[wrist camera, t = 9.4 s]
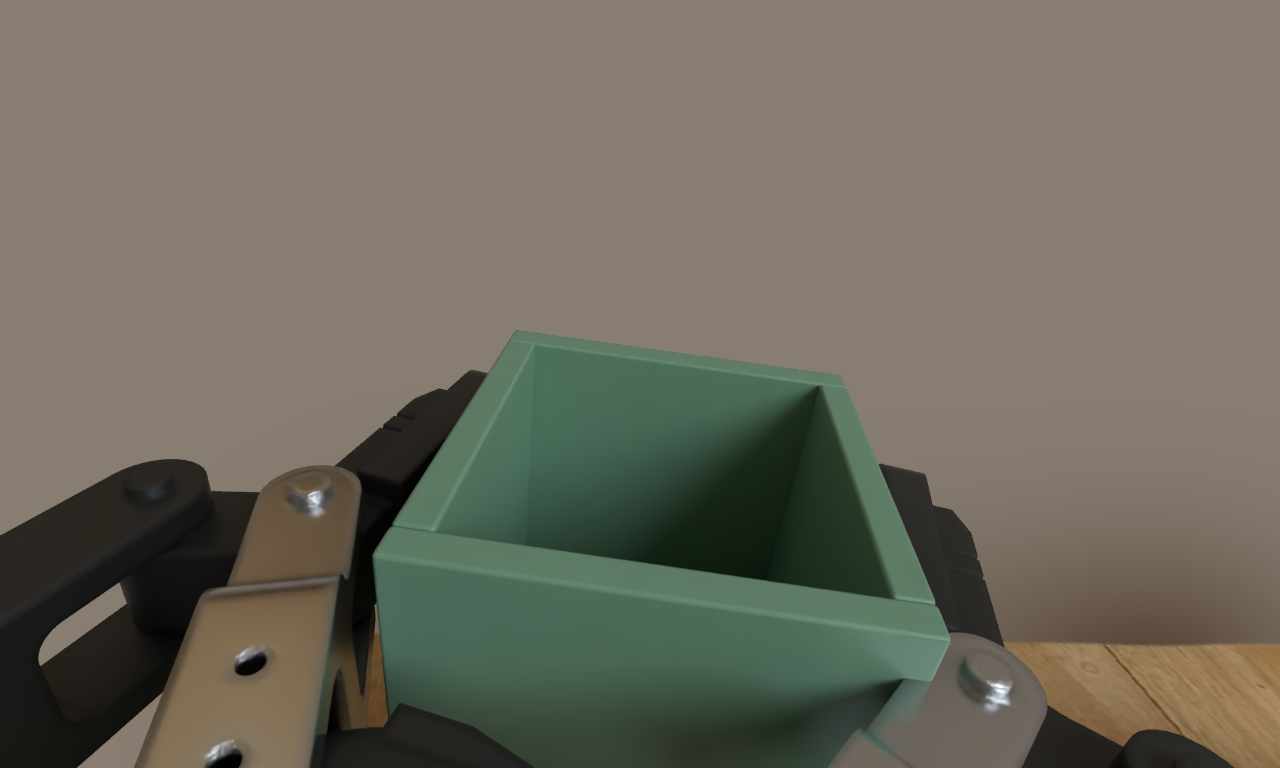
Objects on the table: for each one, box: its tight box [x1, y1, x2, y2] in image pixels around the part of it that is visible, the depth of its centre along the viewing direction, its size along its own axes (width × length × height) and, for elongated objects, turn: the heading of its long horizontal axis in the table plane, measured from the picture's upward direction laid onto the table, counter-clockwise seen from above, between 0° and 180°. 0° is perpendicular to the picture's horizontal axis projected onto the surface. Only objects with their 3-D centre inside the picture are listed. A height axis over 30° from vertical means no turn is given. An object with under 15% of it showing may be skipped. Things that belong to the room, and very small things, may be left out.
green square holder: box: [372, 330, 951, 768], centre depth 12 cm, size 6×6×12 cm
